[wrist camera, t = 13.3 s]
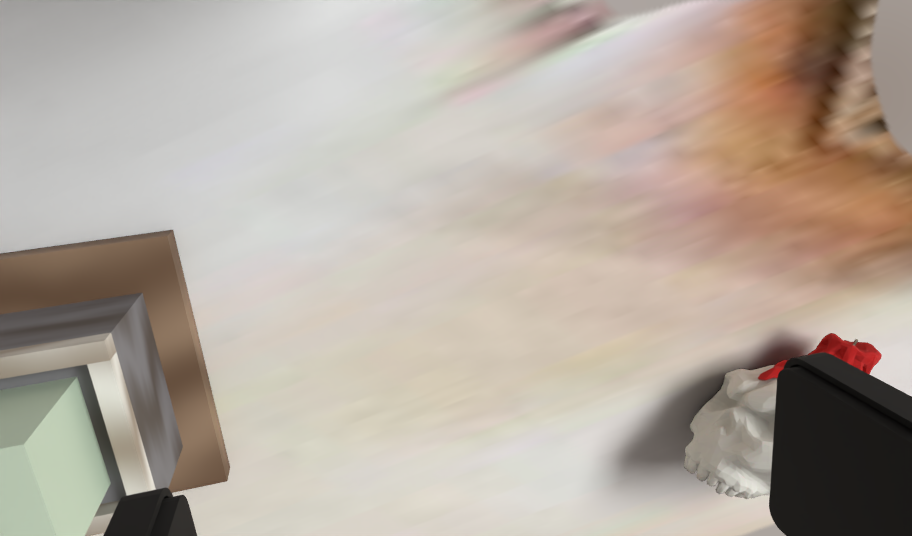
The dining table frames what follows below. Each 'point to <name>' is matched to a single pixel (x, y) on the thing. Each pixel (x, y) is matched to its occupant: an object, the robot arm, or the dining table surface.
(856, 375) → the robot arm
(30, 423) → the sage block
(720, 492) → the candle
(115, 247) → the pillar base
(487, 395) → the dining table surface
